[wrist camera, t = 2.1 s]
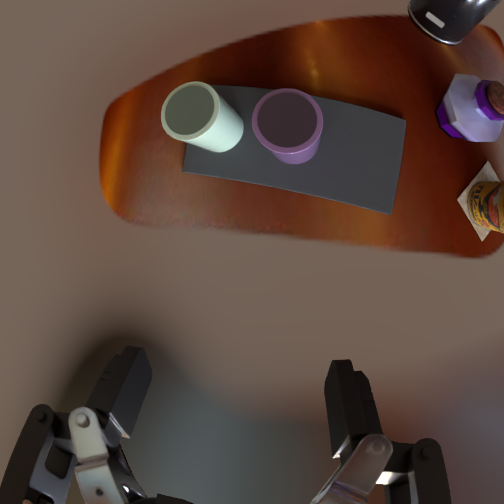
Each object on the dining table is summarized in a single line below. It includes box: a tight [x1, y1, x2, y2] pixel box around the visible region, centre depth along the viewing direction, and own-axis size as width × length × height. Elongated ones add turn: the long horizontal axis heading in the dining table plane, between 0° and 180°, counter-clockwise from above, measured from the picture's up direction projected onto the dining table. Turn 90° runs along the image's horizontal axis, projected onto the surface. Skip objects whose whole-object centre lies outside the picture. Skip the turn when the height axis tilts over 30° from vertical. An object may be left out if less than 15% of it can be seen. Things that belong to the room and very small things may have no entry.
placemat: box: [182, 85, 406, 215], centre depth 29 cm, size 12×26×1 cm, turn 80°
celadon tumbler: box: [161, 82, 244, 152], centre depth 26 cm, size 6×6×9 cm
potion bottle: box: [435, 74, 504, 142], centre depth 19 cm, size 9×9×12 cm
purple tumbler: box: [252, 88, 323, 164], centre depth 25 cm, size 6×6×9 cm
